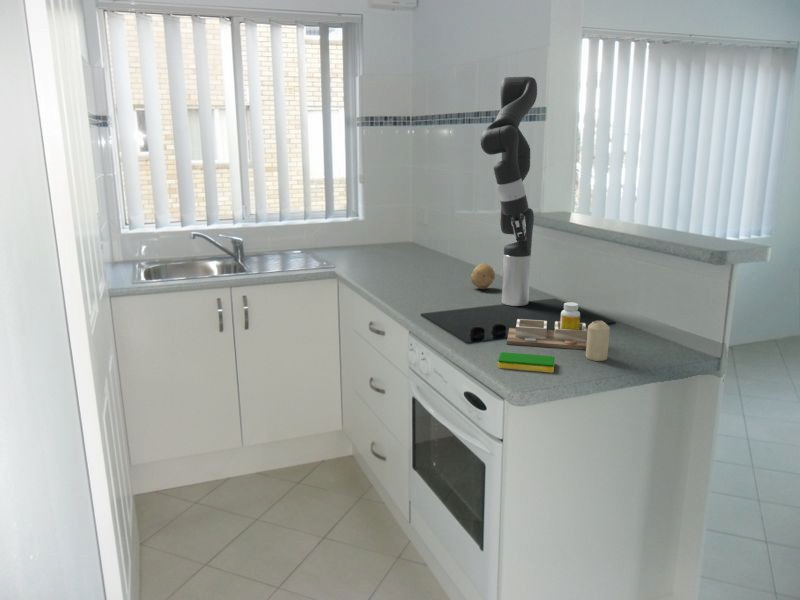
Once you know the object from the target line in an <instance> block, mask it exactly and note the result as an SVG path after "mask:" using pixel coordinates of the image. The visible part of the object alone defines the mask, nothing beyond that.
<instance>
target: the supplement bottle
mask: <svg viewBox="0 0 800 600" xmlns="http://www.w3.org/2000/svg"><path fill="white" fill-rule="evenodd" d="M559 321H560V329H569V330H579V324H580V323H581V312H580V311H579V304H578V302H572V301H571V302H570V301H569V302H564V303H563V310H561V312H560V320H559Z"/></svg>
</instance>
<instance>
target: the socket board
mask: <svg viewBox="0 0 800 600" xmlns="http://www.w3.org/2000/svg"><path fill="white" fill-rule="evenodd" d="M560 321H561V320H559V321H558V320H555V321H554V330H547V326H548V321H547V320H542V319H540V320H539V319H525V318H517V319H516V326H515V328H514V327H509V328H508V332H507V339H506V345H514V346H529V347H542V348H557V349H558V348H559V349H569V350H570V349H571V350H572V349H573V350H585V351H586V346H587V333H588V329H587V326H586V325H587V324H586V322H580V324H579V330H569V329H560Z"/></svg>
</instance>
